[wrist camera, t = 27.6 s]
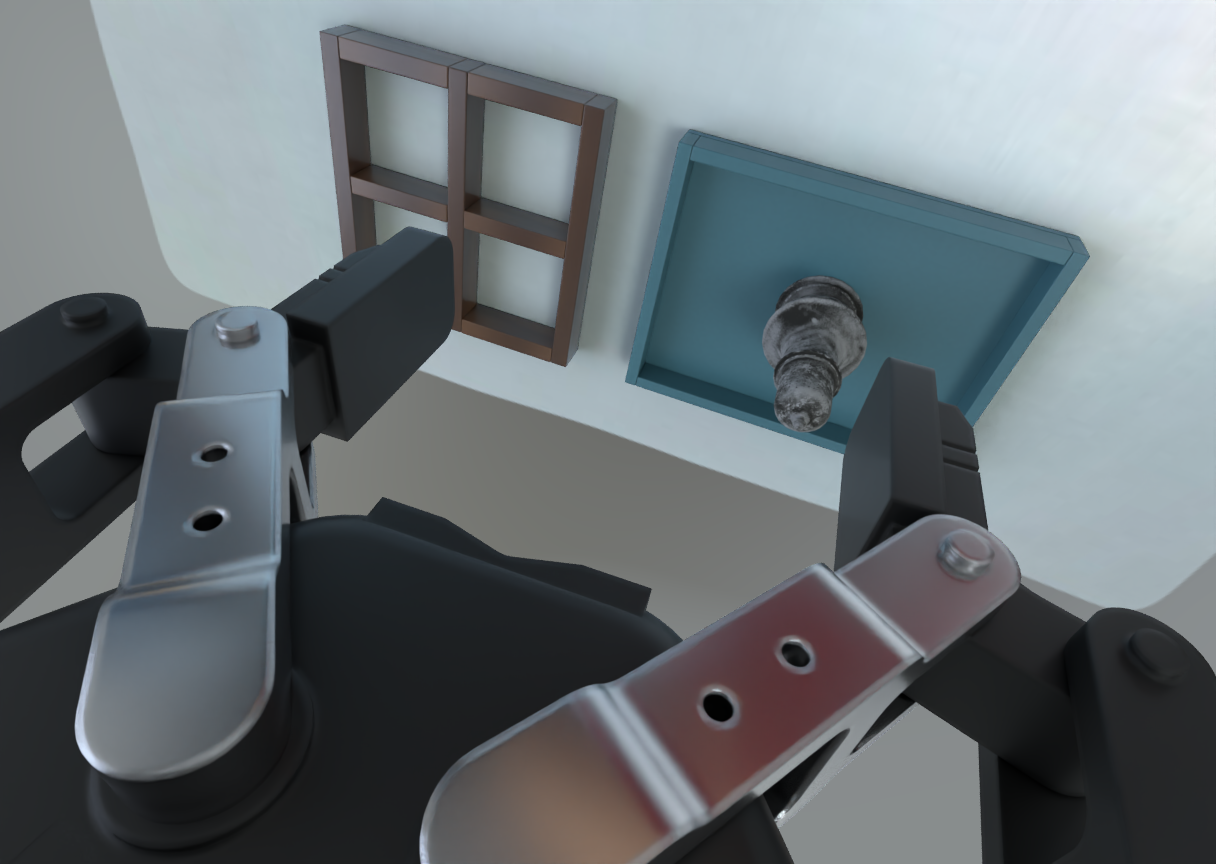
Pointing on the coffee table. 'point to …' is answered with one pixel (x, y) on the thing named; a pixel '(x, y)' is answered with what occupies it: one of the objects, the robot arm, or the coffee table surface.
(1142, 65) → the coffee table surface
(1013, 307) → the tray
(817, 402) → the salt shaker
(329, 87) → the spice rack
